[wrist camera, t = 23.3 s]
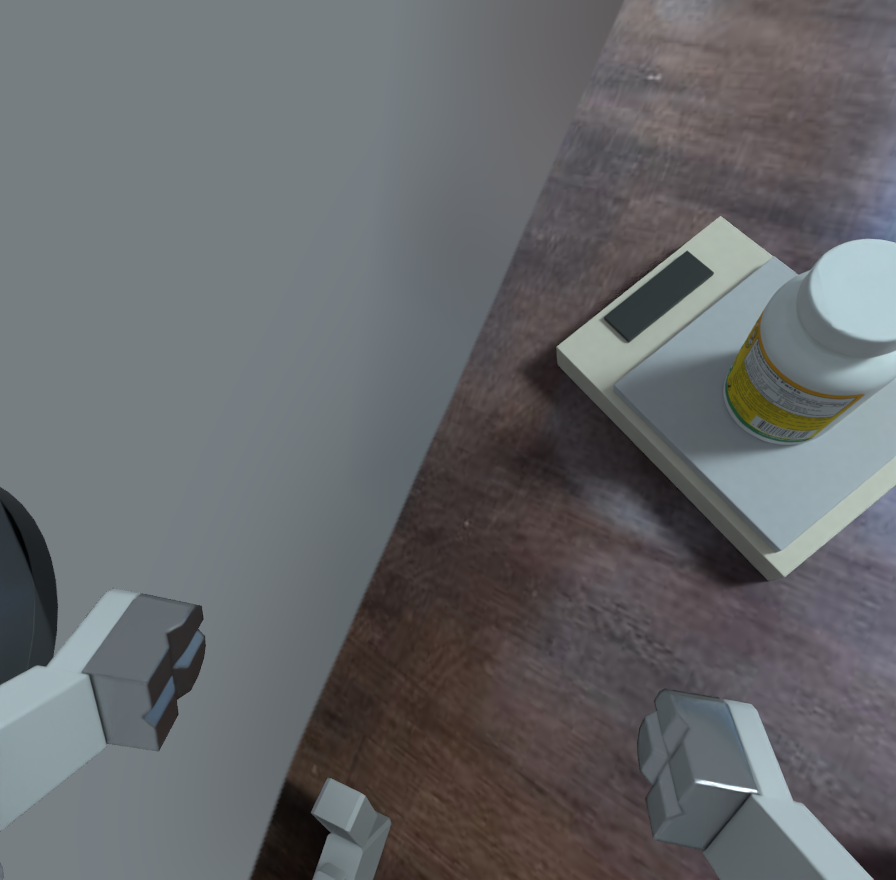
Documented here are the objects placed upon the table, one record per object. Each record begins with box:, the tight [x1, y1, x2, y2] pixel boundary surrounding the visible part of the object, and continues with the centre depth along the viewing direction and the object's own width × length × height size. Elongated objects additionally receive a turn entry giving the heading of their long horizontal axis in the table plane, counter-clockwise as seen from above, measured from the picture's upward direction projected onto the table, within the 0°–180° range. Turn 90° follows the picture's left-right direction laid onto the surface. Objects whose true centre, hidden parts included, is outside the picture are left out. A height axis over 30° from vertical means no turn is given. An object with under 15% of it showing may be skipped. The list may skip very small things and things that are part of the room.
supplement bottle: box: [723, 239, 896, 445], centre depth 25 cm, size 5×5×10 cm
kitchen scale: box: [556, 216, 896, 581], centre depth 31 cm, size 16×12×3 cm
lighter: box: [311, 778, 391, 880], centre depth 26 cm, size 7×2×8 cm, turn 161°
